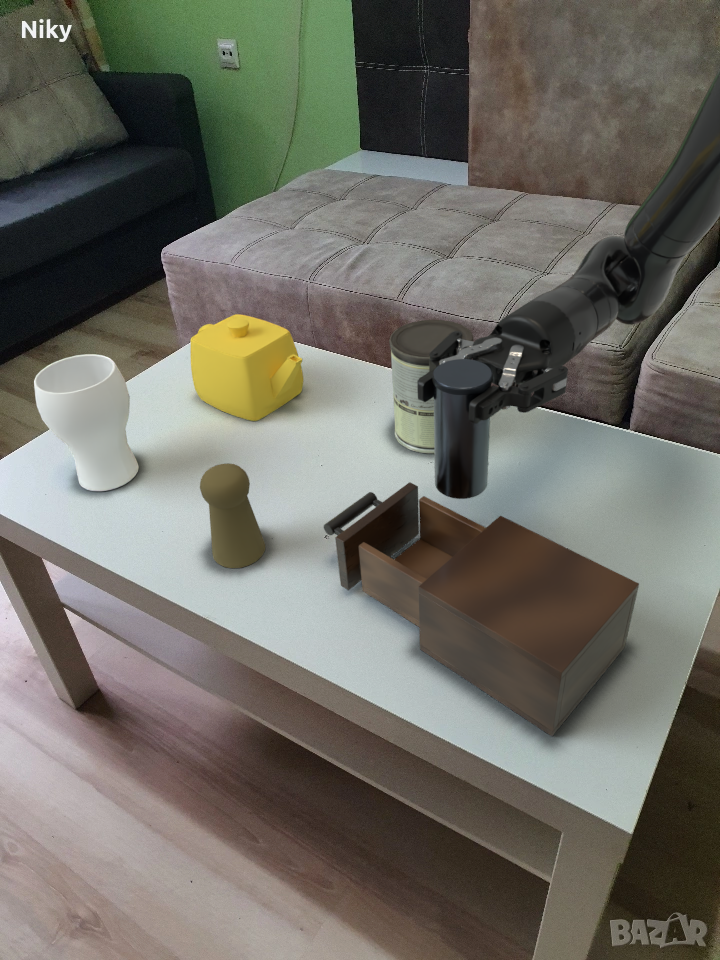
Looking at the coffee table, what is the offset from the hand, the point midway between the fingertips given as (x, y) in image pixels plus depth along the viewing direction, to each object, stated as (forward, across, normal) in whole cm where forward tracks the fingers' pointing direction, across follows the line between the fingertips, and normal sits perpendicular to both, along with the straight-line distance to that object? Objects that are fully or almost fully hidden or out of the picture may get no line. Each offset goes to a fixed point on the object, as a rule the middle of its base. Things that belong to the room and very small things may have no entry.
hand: (446, 402), depth 70 cm
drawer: (+5, -1, +19) cm, 20 cm away
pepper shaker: (+14, -19, +20) cm, 31 cm away
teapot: (-9, -43, +20) cm, 49 cm away
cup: (+15, -44, +20) cm, 50 cm away
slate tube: (-3, 0, +11) cm, 11 cm away
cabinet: (+5, +13, +20) cm, 24 cm away
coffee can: (-18, -16, +20) cm, 32 cm away
